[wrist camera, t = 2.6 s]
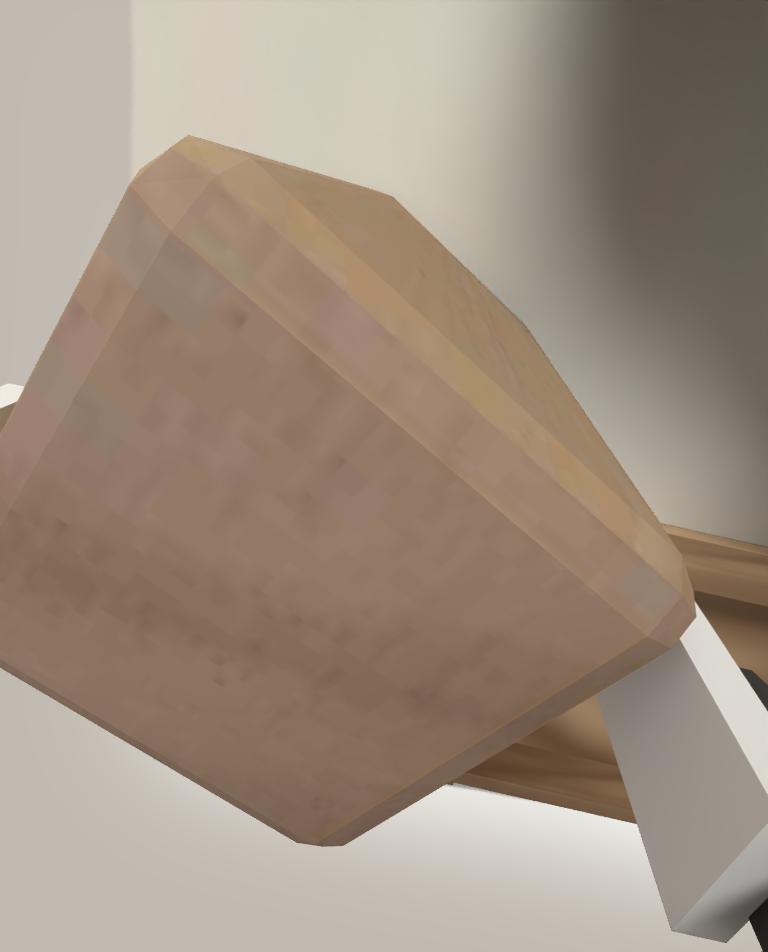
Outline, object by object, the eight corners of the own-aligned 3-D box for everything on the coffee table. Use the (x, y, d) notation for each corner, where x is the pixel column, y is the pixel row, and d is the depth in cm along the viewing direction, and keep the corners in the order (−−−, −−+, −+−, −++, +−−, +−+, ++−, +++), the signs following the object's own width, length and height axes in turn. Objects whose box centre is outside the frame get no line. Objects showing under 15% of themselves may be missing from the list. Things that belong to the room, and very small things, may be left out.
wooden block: (399, 473, 29) (322, 884, 11) (251, 352, 27) (-129, 623, 9) (537, 336, 25) (755, 638, 7) (377, 180, 23) (132, 71, 5)
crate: (511, 485, 29) (521, 523, 25) (873, 565, 29) (934, 616, 25) (427, 725, 38) (425, 779, 34) (701, 787, 38) (727, 847, 34)
